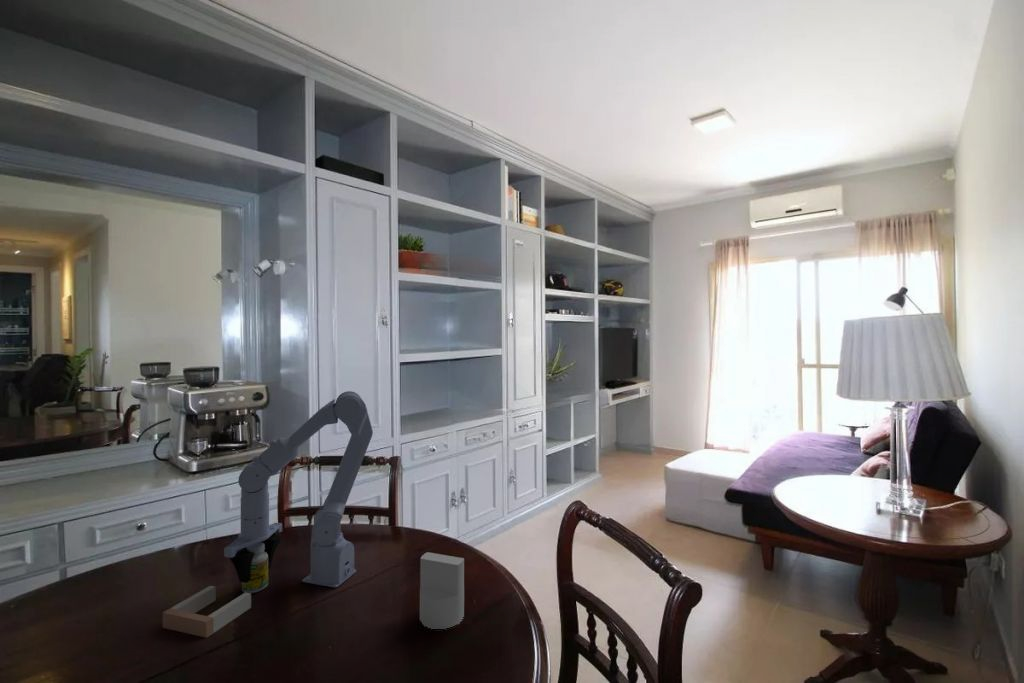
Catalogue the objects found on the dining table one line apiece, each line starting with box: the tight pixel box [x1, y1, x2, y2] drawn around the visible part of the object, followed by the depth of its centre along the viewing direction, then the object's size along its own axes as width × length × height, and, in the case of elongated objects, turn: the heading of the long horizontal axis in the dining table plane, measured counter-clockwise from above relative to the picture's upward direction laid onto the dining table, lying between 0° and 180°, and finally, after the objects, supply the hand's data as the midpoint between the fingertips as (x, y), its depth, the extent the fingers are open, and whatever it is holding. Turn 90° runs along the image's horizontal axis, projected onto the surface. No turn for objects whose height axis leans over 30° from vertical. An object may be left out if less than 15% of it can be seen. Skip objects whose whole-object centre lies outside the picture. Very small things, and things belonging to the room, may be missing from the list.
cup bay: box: [162, 585, 252, 638], centre depth 96 cm, size 11×10×3 cm
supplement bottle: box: [241, 542, 269, 594], centre depth 108 cm, size 5×5×10 cm
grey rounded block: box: [419, 552, 465, 630], centre depth 97 cm, size 9×9×12 cm
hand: (254, 575), depth 108 cm, fingers open, 5 cm apart
